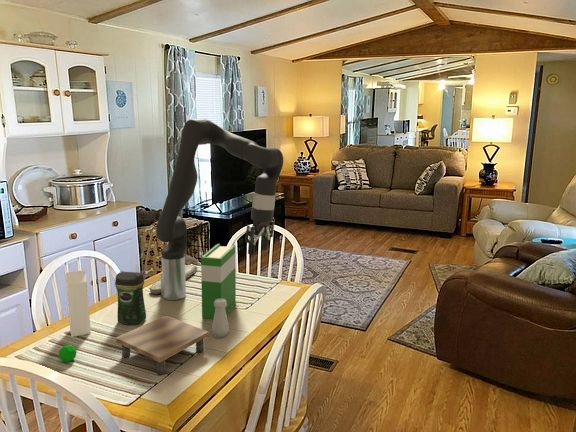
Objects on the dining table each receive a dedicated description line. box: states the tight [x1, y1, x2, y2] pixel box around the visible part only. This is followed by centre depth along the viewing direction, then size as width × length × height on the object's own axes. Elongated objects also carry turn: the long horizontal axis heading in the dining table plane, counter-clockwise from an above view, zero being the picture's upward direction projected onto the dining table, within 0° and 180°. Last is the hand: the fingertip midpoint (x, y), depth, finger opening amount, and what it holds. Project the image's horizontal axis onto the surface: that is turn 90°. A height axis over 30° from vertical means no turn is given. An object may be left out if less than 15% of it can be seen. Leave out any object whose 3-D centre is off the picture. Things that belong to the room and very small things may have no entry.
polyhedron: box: [58, 344, 77, 363], centre depth 143 cm, size 5×5×5 cm
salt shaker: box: [211, 298, 230, 339], centre depth 161 cm, size 6×6×13 cm
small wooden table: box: [115, 315, 209, 376], centre depth 148 cm, size 20×20×6 cm
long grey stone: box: [149, 264, 198, 295], centre depth 210 cm, size 35×5×10 cm
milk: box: [65, 269, 92, 338], centre depth 159 cm, size 6×6×22 cm
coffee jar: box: [114, 270, 147, 326], centre depth 169 cm, size 10×8×19 cm
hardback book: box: [200, 243, 237, 321], centre depth 179 cm, size 18×7×24 cm, turn 169°
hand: (257, 252), depth 163 cm, fingers open, 8 cm apart
